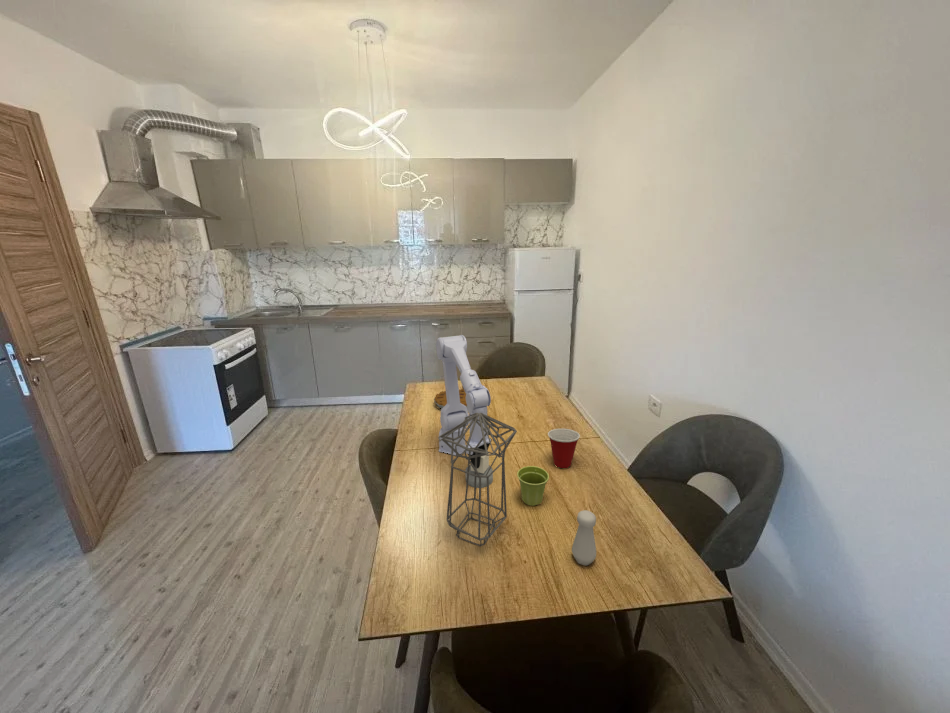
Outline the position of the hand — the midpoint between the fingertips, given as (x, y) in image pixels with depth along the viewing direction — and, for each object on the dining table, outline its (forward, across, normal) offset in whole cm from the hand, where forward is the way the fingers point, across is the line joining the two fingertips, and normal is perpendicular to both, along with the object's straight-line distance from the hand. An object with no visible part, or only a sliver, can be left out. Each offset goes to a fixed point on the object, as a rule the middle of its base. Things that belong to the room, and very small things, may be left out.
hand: (479, 463), depth 124 cm
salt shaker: (+6, -20, -37) cm, 43 cm away
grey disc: (+6, 0, 0) cm, 6 cm away
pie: (+7, +53, +36) cm, 64 cm away
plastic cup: (+6, +20, -23) cm, 31 cm away
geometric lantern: (+6, -22, -10) cm, 25 cm away
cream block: (+2, 0, 0) cm, 2 cm away
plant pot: (+6, -3, -19) cm, 20 cm away
